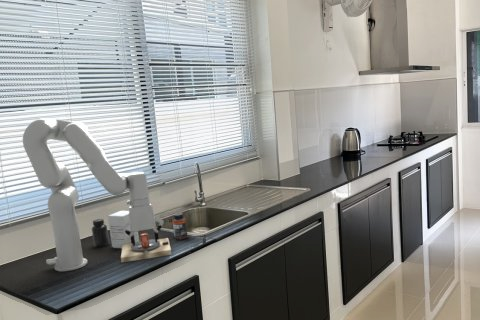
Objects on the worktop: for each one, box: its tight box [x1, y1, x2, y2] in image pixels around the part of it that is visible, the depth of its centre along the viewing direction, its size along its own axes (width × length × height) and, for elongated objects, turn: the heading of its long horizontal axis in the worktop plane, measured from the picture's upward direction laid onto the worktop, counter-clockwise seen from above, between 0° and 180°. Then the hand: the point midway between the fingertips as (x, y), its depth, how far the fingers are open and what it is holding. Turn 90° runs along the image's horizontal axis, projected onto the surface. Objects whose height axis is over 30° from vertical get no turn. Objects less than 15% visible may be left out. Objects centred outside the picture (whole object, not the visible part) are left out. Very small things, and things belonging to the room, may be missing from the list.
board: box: [120, 237, 172, 263], centre depth 190 cm, size 20×18×3 cm
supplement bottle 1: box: [91, 218, 110, 248], centre depth 205 cm, size 7×7×12 cm
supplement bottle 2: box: [172, 212, 188, 240], centre depth 205 cm, size 6×6×11 cm
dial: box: [131, 232, 160, 251], centre depth 189 cm, size 13×12×7 cm
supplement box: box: [107, 210, 140, 249], centre depth 202 cm, size 9×9×15 cm
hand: (145, 243), depth 184 cm, fingers open, 8 cm apart
